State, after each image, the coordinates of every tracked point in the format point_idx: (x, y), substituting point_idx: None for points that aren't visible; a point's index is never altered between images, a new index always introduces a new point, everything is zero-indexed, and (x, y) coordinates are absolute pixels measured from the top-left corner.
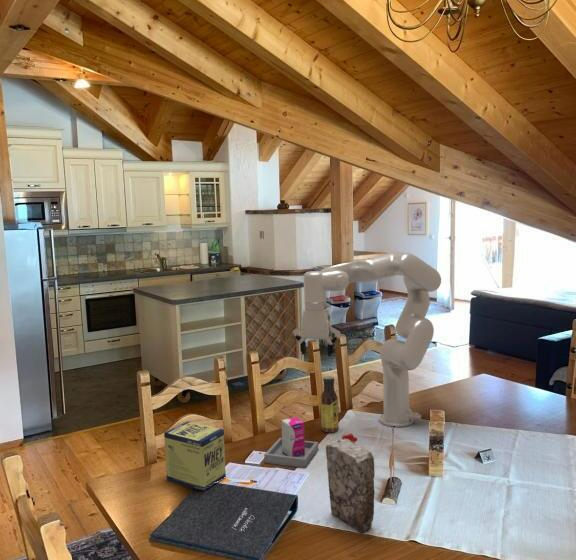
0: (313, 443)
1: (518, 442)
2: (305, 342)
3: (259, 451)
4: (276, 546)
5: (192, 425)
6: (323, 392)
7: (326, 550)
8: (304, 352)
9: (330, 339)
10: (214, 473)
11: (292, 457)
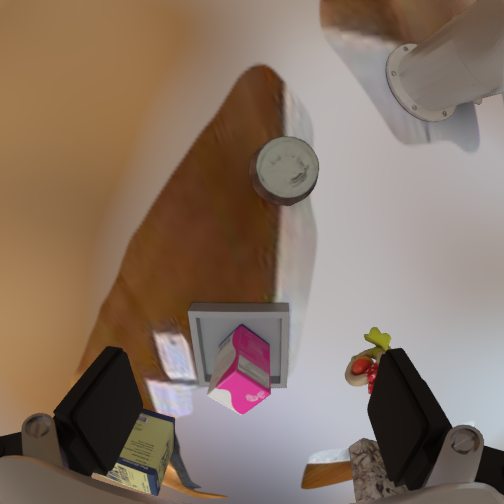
0: (278, 317)
1: None
2: (79, 427)
3: (167, 336)
4: (303, 485)
5: None
6: (263, 187)
7: (349, 477)
8: (133, 397)
9: (446, 482)
10: (171, 445)
11: None
